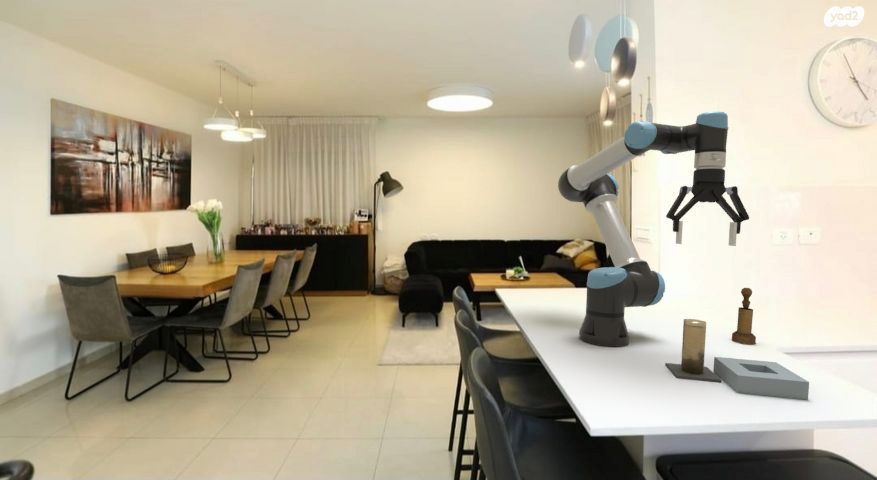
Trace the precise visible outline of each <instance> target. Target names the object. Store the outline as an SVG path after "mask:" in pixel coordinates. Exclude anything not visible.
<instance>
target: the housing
mask: <svg viewBox="0 0 877 480" xmlns="http://www.w3.org/2000/svg"><path fill="white" fill-rule="evenodd" d="M712 372H713V373H714V374H715V375H717V376H718V377H719V378H720V379H721V380H722V382H724V383H726V384H727V385H728V386H729V387H731V388H732V389H733V390H734V391H735V393H738V394H739V393H740V394H746V395H747V394H750V395H759V396H767V397H778V398H789V399H790V398H791V399H798V400H809V390H810V381H809V380H807V379H805V378H803V377H801V376H800V375H799V374H797V373H795V372H793V371H791V370H789V369H788V368H786V367H785V366H783V365H781V364H780V363H778V362H776V361H768V360H755V359H746V358H745V359H744V358H742V359H741V358H732V357H721V356H720V357H719V356H714V358H713V371H712Z"/></svg>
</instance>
